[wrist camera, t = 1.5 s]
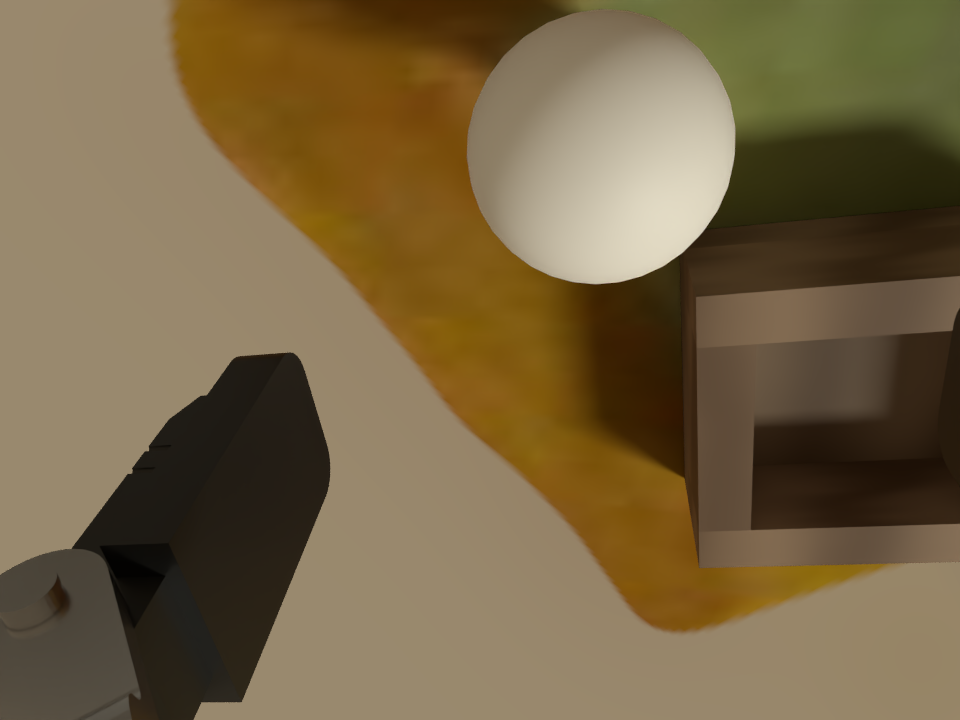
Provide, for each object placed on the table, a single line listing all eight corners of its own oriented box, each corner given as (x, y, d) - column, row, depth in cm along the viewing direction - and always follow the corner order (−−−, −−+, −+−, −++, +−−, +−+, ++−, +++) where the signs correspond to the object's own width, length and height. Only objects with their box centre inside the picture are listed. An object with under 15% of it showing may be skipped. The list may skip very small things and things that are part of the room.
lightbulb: (734, 74, 25) (824, 196, 16) (591, 207, 28) (594, 378, 18) (598, -77, 23) (607, -42, 14) (459, 80, 26) (389, 198, 17)
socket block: (1028, 199, 26) (1114, 263, 22) (972, 466, 31) (1033, 560, 27) (679, 231, 28) (695, 296, 24) (684, 478, 33) (699, 567, 29)
